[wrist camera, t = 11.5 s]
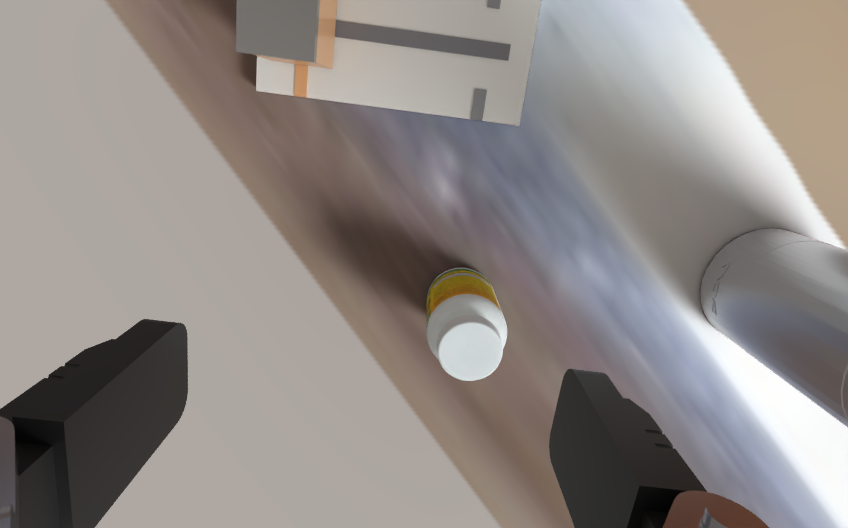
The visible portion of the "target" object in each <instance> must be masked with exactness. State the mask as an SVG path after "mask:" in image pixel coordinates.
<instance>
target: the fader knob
mask: <svg viewBox="0 0 848 528" xmlns="http://www.w3.org/2000/svg"><path fill="white" fill-rule="evenodd" d="M336 13H337V0H237V10H236V52H239V53H245V54H252V55H255V56H258V57H261V58H264V59H267V60H270V61H276V62H283V63H291V64H298V65H305V66H313V67H320V68H328V69H333V55H334V41H335V27H336Z"/></svg>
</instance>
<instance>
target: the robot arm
mask: <svg viewBox="0 0 848 528" xmlns="http://www.w3.org/2000/svg"><path fill="white" fill-rule="evenodd" d="M700 294H701V304H702V308H703V311H704V314H705V315H706V317H707V319H708V321H709V322H710V323H711V324H712V325H713V326H714V327H715V328H716V329H717V330H718V331H720V332H721V333H722V334H724V335H725V336H726V337H728V338H729V339H730V340H732V341H733V342H734V343H736V344H737V345H738V346H740V347H741V348H742V349H744V350H745V351H746V352H747V353H749V354H750V355H751V356H753V357H754V358H755V359H757V360H758V361H759V362H761V363H762V364H763V365H765V366H766V367H767V368H769V369H770V370H771V371H773V372H774V373H775V374H777V375H778V376H780V377H781V378H782V379H784V380H785V381H786V382H788V383H789V384H790V385H792V386H793V387H794V388H796V389H797V390H798V391H800V392H801V393H802V394H804V395H805V396H806V397H808V398H809V399H810V400H812V401H813V402H814V403H816V404H817V405H818V406H820V407H821V408H822V409H824V410H825V411H827V412H828V413H829V414H831V415H832V416H833V417H835V418H836V419H837V420H839V421H840V422H841V423H843V424H844V425H845V426H847V427H848V250H845V249H842V248H839V247H836V246H833V245H830V244H827V243H824V242H821V241H818V240H815V239H812V238H809V237H806V236H803V235H800V234H797V233H794V232H791V231H788V230H783V229H775V228H770V229H759V230H756V231H752V232H748V233H746V234H744V235H742V236H740V237H737V238H735V239H734V240H733V241H731V242H730V243H728V244H727V245H726V246H724V247H723V248H722V249H721V250H720V251H719V252H718V253H717V254H716V255H715V257H714V258H713V260H712V261H711V263H710V264H709V266H708V267H707V269H706V272H705V274H704V277H703V279H702V285H701V290H700ZM187 364H188V360H187V330H186V327H185V326H184V324H182V323H175V322H166V321H158V320H149V319H143V320H141V321H140V322H138V323H137V324H136V325H134V326H133V327H132V328H130V329H129V330H128V331H126V332H125V333H123V334H122V335H121V336H119V337H118V338H117V339H111V340H109V341H106V342H103V343H101V344H98V345H95V346H93V347H90V348H88V349H85V350H84V351H82V352H81V353H79V354H78V355H76V356H75V357H74V358H72V359H71V360H69V361H68V362H67V363H65V366H61V367H59V368H58V369H57V370H55V371H54V372H52V373H51V374H49V377H48V378H44V379H42V380H41V381H40V382H38V383H37V384H36V385H34V386H32V387H31V388H30V389H28V390H27V391H25V392H24V393H23V394H21V395H20V396H18V397H17V398H15V399H14V400H13V401H11V402H10V403H8V404H7V405H6V406H4V407H3V408H1V409H0V528H94V527H95V526H96V525H97V524H98V522H99V521H100V520H101V519H102V517H103V516H104V515H105V513H106V512H107V511H108V510H109V509H110V507H111V506H112V505H113V504H114V502H115V501H116V499H117V498H118V497H119V496H120V495H121V493H122V492H123V491H124V489H125V488H126V487H127V486H128V485H129V483H130V482H131V481H132V479H133V478H134V477H135V476H136V474H137V473H138V472H139V471H140V469H141V468H142V467H143V465H144V464H145V463H146V462H147V461H148V459H149V458H150V457H151V455H152V454H153V453H154V452H155V450H156V449H157V448H158V447H159V445H160V444H161V443H162V442H163V440H164V439H165V438H166V436H167V435H168V434H169V433H170V431H171V430H172V429H173V428H174V426H175V425H176V424H177V422H178V421H179V419H180V418H181V415H182V413H183V411H184V408H185V404H186V400H187V393H188V374H187V373H188V365H187ZM672 446H673V445H672V444H671V442H670V441H669V440H668V438H667V437H666V436H665V435H664V434H662V430H661V429H660V428H659V426H658V425H657V424H656V422H655V421H654V420H653V418H652V417H651V416H650V414H648V413H647V412H646V411H644V410H643V409H642V408H641V407H639V406H638V405H637V404H635V403H634V402H633V401H631V400H630V399H625V398H623V397H622V396H621V395H620V393H619V392H618V390H617V389H616V387H615V386H614V384H613V383H612V382H611V380H610V379H609V377H608V376H607V375H606V374H605V373H601V372H592V371H584V370H575V369H568V370H567V371H566V373H565V375H564V377H563V381H562V385H561V389H560V394H559V398H558V402H557V407H556V411H555V415H554V420H553V424H552V428H551V433H550V444H549V448H550V459H551V463H552V466H553V469H554V471H555V474H556V477H557V480H558V482H559V485H560V488H561V491H562V493H563V496H564V499H565V502H566V505H567V507H568V510H569V513H570V516H571V518H572V521H573V524H574V527H575V528H769V527H768V526H767V525H766V524H765V523H764V522H763V521H762V520H761V519H760V518H759V517H757V516H756V515H755V514H753V513H752V512H751V511H749V510H748V509H746V508H745V507H743V506H741V505H740V504H738V503H736V502H734V501H732V500H730V499H727V498H725V497H723V496H720V495H717V494H714V493H709V492H707V491H706V489H705V488H704V487H703V485H702V484H701V483H700V481H699V480H698V479H697V477H696V476H695V475H694V473H693V472H692V471H691V469H690V468H689V467H688V465H687V464H686V463H685V461H684V460H683V459H682V457H681V456H680V455H679V453H678V452H677V450H676V449H673V447H672Z"/></svg>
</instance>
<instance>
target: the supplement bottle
mask: <svg viewBox="0 0 848 528" xmlns="http://www.w3.org/2000/svg"><path fill="white" fill-rule="evenodd" d="M427 339H428V343H429V346H430V348H431V350H432V352H433V354H434V355H435V356H436V357H437V358H438V359H439V362H440V364H441V366H442V367H443V369H444V370H445V371H446V372H447V373H448V374H450V375H451V376H453V377H455V378H457V379H460V380H465V381H473V380H479V379H482V378H484V377H486V376H488V375H490V374H491V373H492V372H493V371H494V370H495V369H496V368H497V367H498V365H499V363H500V361H501V358H502V353H503V348H504V345H505V343H506V339H507V326H506V321H505V318H504V316H503V313H502V311H501V308H500V306H499V303H498V300H497V298H496V295H495V292H494V290H493V287H492V285H491V284H490V282H489V281H488V280H487V278H486V277H485V276H483V275H482V274H480V273H479V272H477V271H475V270H472V269H469V268H453V269H449V270H447V271H445V272H443V273H441V274H440V275H439V276H438V277H437V278H436V279H435V280H434V281H433V283H432V284H431V286H430V288H429V290H428V294H427Z"/></svg>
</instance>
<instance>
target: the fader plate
mask: <svg viewBox="0 0 848 528" xmlns="http://www.w3.org/2000/svg"><path fill="white" fill-rule="evenodd" d="M540 6H541V0H337V13H336V27H335V41H334V55H333V69H328V68H320V67H313V66H305V65H298V64H291V63H283V62H276V61H270V60H267V59H264V58H261V57H258V56H257V76H256V91H261V92H268V93H276V94H284V95H291V96H299V97H306V98H314V99H321V100H329V101H336V102H344V103H351V104H359V105H366V106H374V107H381V108H389V109H396V110H404V111H411V112H419V113H426V114H434V115H442V116H449V117H457V118H464V119H472V120H479V121H487V122H494V123H502V124H509V125H517V126H520V120H521V114H522V108H523V103H524V97H525V91H526V86H527V80H528V74H529V68H530V63H531V57H532V51H533V46H534V40H535V34H536V29H537V23H538V17H539V11H540Z"/></svg>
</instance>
